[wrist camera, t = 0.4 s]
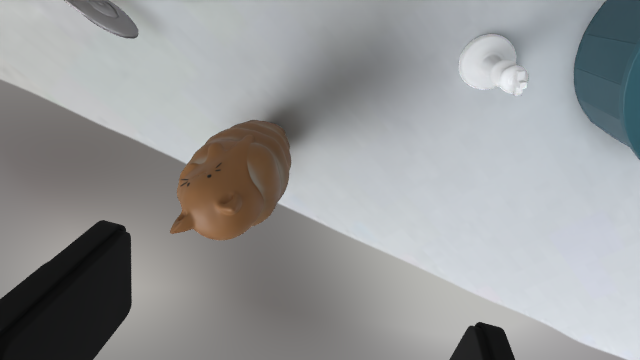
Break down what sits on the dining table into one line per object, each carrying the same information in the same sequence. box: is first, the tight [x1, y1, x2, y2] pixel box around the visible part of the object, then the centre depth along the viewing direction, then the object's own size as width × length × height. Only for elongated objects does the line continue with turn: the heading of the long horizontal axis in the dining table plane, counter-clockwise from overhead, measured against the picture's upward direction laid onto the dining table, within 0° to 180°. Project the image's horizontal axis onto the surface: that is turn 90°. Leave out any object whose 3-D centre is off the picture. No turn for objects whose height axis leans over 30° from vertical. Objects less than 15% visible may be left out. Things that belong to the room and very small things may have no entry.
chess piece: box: [459, 34, 529, 96], centre depth 31 cm, size 5×5×10 cm
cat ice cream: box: [170, 120, 291, 240], centre depth 33 cm, size 9×8×18 cm
